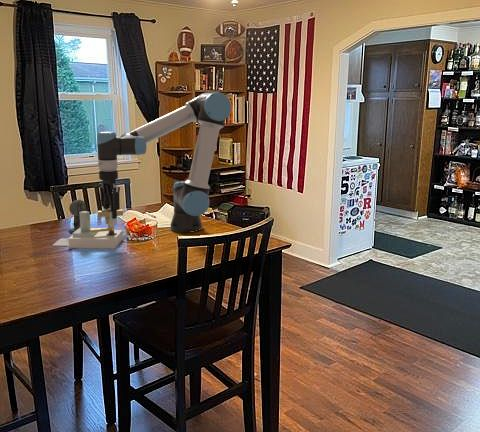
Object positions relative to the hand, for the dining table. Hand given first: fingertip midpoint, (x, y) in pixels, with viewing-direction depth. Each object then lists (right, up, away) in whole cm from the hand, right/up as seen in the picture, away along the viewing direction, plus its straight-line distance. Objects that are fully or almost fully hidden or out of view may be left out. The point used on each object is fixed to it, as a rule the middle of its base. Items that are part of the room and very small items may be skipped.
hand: (111, 224), depth 200 cm
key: (-2, -4, 0) cm, 4 cm away
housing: (-7, -8, +2) cm, 11 cm away
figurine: (-20, -4, +19) cm, 28 cm away
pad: (-20, -8, +2) cm, 22 cm away
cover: (-11, -4, +1) cm, 12 cm away
